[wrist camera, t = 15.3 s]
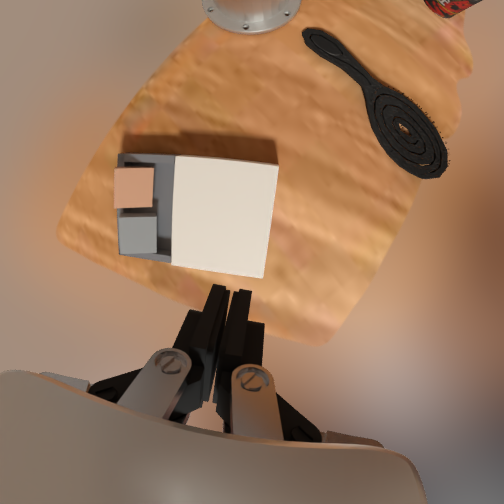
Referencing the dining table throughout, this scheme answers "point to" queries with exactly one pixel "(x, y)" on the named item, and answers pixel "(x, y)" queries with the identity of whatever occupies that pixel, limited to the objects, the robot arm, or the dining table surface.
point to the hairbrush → (388, 113)
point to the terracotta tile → (133, 186)
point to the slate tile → (138, 233)
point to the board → (222, 214)
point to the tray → (155, 200)
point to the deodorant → (449, 6)
